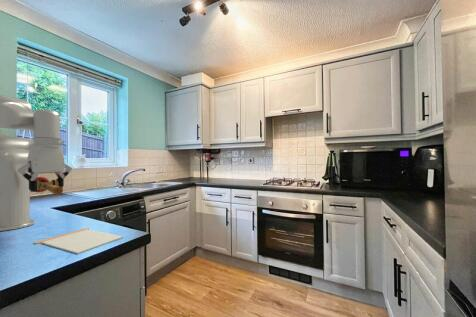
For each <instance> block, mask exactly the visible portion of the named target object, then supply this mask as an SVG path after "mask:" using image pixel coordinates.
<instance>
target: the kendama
mask: <svg viewBox="0 0 476 317" xmlns="http://www.w3.org/2000/svg"><path fill="white" fill-rule="evenodd" d="M35 181H37V191H36V192H35V193H43V192H45V191H49V192H50V193H52V194H53V195H56V196H58V195H62V194H63V192H64V188H62V187H59V183H58V180H56V179H52V180H51V181H50V180H49V179H48V178H46V177H43V176H37V177H36V179H35Z"/></svg>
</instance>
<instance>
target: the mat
mask: <svg viewBox="0 0 476 317" xmlns="http://www.w3.org/2000/svg"><path fill="white" fill-rule="evenodd" d="M88 229H89V228H88ZM88 229H87V230H83V231H80V232H76V233H73V234H69V235H65V236H62V237H58V238H54V239H51V240H47V241H44V242H41V243H40V244H42V245H46V246H50V247H53V248H56V249H58V250H61V251H67V252H69V253H73V254H77V255H79V254H82V253H85V252H88V251H91V250H94V249H95V248H96V249H97V248H99V247H102V246H104V245H107V244H110V243H112V242H115V241H118V240H120V239H121V240H122V239H124V236H122V235H117V234H114V233H113V234H112V233H108V232H102V231H97V230H93V229H89V230H88Z"/></svg>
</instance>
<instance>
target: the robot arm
mask: <svg viewBox="0 0 476 317" xmlns="http://www.w3.org/2000/svg"><path fill="white" fill-rule="evenodd" d="M1 129H9V130H11V129H12V130H19V131H20V130H21V131H29V132H32V136H33V137H32V138H33V139H32V138H27V137H17V136H8V135H7V134H5V132H4V131H2V130H1ZM60 132H61V117H60V113H59V112H57V111H56V110H55V111H54V110H52V109H40V108H39V109H36V110H34V111H33V107H32V105H31V103H30V102H29V101H28V100H25V99H22V98H17V97H12V96H8V95H3V94H0V232H3V231H5V232H6V231H10V230H16V229H17V230H18V229H23V228H26V227H30V226H32V225H34V224H36V223H35V220H34V219H30V217H31V215H30V214H31V212H30V211H31V210H30V207H31V205H30V203H31V202H30V199H31V198H30V196H31V195H30V194H31V193H37V192H36V191H37V181H35V179H36V177H39V174H54V175H55V176H56V177H57V178H56V179H55V180H58V183H59V187H62V188H63V187H64V184H65V179H66V177H68V175H69V174H70V173H71V172H72V170H73V168H72V167H71V166H70V165H68V164H67V163H65V156H64V155H65V154H64V149H63V147H62V146H61V145H64V144H65V143H64V142H65V141H63V140H61V133H60ZM63 189H64V188H63Z"/></svg>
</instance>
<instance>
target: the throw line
mask: <svg viewBox="0 0 476 317" xmlns="http://www.w3.org/2000/svg"><path fill="white" fill-rule="evenodd" d="M87 229H88V230H90V228H87V227H86V228H83V229H79V230H76V231H70V232H68V233H63V234H60V235H56V236H52V237H49V238H46V239H45V238H44V239H42V240H39V241H35V242H33V244H35V245H38V244H41V242H44V241H47V240H51V239H54V238H58V237H62V236H65V235H69V234H73V233H76V232H80V231H83V230H87Z"/></svg>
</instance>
